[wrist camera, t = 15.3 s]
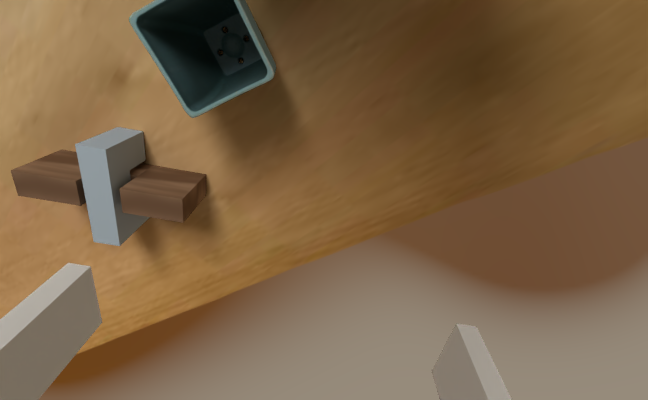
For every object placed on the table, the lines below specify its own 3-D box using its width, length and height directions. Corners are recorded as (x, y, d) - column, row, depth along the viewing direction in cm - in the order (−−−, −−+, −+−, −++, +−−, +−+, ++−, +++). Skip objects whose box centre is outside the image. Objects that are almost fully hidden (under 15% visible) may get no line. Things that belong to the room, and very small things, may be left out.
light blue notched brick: (117, 127, 38) (75, 144, 32) (143, 131, 38) (105, 149, 32) (128, 212, 44) (93, 241, 37) (150, 216, 44) (119, 245, 37)
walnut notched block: (61, 149, 40) (10, 170, 33) (206, 174, 41) (182, 199, 34) (66, 171, 41) (18, 195, 35) (206, 195, 42) (183, 222, 36)
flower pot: (290, 68, 35) (276, 77, 27) (222, 102, 36) (189, 120, 28) (250, -21, 31) (219, -41, 23) (176, 22, 33) (125, 17, 25)
